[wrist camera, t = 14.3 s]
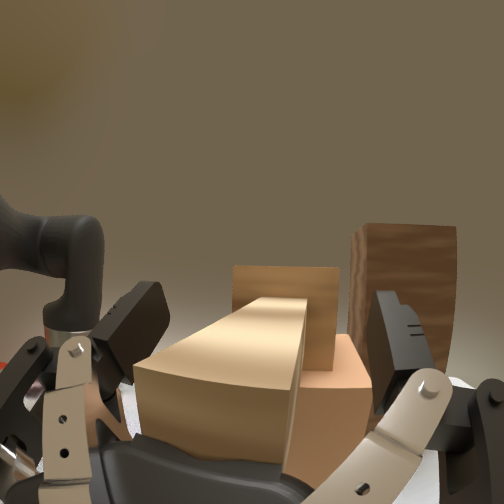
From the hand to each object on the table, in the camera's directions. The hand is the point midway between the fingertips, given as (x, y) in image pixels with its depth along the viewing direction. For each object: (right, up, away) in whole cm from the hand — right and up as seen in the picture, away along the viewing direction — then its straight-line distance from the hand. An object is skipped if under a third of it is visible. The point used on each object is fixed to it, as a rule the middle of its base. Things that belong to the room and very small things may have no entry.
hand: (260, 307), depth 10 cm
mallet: (+1, -6, +5) cm, 8 cm away
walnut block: (+19, -27, +23) cm, 41 cm away
